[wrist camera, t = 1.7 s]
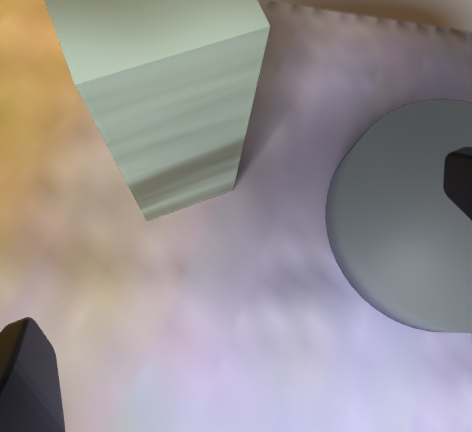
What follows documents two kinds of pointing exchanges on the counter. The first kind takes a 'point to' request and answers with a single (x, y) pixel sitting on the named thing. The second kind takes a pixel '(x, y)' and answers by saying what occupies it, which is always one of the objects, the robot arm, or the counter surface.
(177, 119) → the sage block
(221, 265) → the counter surface
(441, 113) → the slate plinth
